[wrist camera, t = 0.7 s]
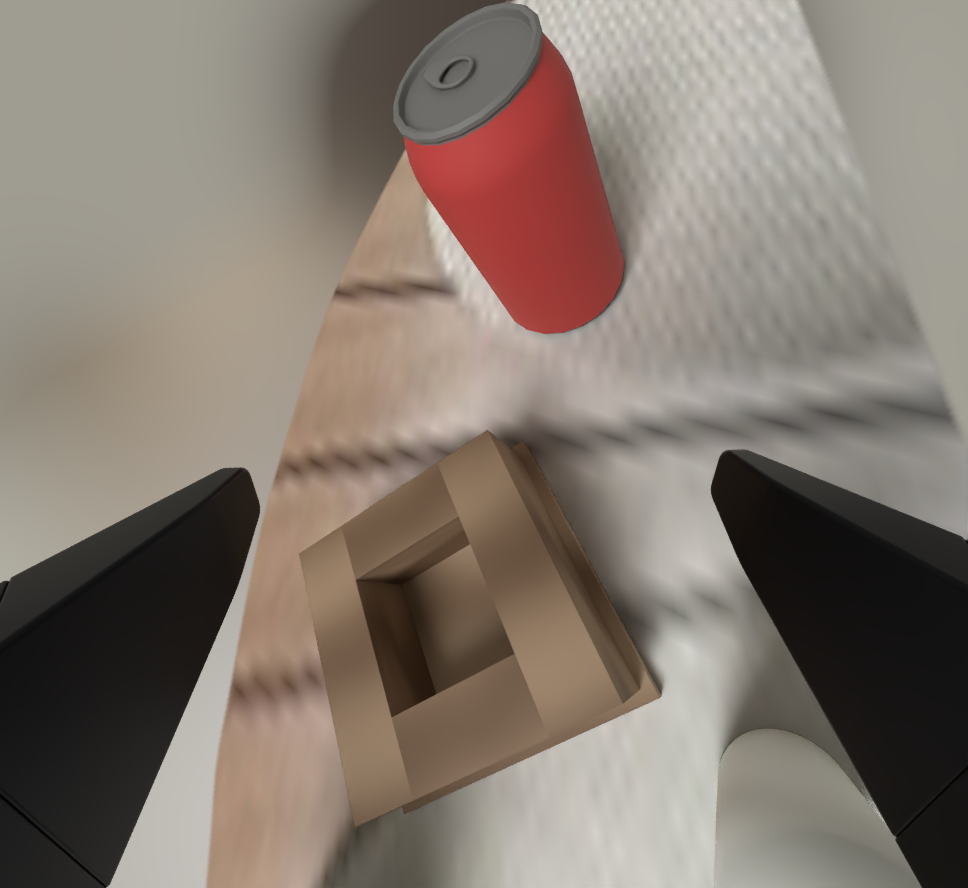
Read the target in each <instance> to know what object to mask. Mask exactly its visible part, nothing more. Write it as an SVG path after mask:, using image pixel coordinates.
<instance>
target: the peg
mask: <svg viewBox="0 0 968 888" xmlns="http://www.w3.org/2000/svg"><path fill="white" fill-rule="evenodd" d="M895 838H896V837H895V836H893V835H892V833H891V831H890V830H889V828H888V827H887V826H886V825H885V823H884V822H883V821H882V819H881V818H880V817H879V816H878V814H877V813H876V812H875V811H874V809H873V808H872V807H871V805H870V804H869V803H868V802H867V800H866V799H865V798H864V797H863V795H862V794H861V793H860V791H859V790H858V789H857V788H856V786H855V785H854V784H853V782H852V781H851V780H850V779H849V777H848V776H847V775H846V774H845V772H844V771H843V770H842V768H841V767H840V766H839V765H838V764H837V763H836V762H835V761H834V759H833V758H831V757H830V756H829V755H828V754H827V753H826V752H825V751H824V750H822V749H821V748H820V747H818V746H817V745H816V744H814V743H812V742H811V741H809V740H807V739H805V738H803V737H801V736H799V735H797V734H794V733H791V732H788V731H784V730H780V729H771V728H769V729H757V730H752V731H749V732H746V733H744V734H742V735H740V736H739V737H738V738H736V739H735V740H734V741H733V742H732V743H731V744H730V745H729V746H728V747H727V749H726V750H725V752H724V754H723V756H722V758H721V761H720V765H719V771H718V786H717V812H716V838H715V865H714V888H922V887H921V886H920V884H919V882H918V880H917V878H916V877H915V875H914V873H913V871H912V870H911V868H910V866H909V864H908V862H907V861H906V859H905V857H904V855H903V854H902V852H901V850H900V848H899V846H898V845H897V843H896V841H895Z"/></svg>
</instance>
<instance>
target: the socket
mask: <svg viewBox="0 0 968 888" xmlns="http://www.w3.org/2000/svg"><path fill="white" fill-rule="evenodd" d="M299 556H300V561H301V566H302V571H303V576H304V581H305V586H306V591H307V596H308V600H309V605H310V610H311V615H312V620H313V625H314V630H315V635H316V640H317V645H318V650H319V654H320V659H321V664H322V669H323V674H324V679H325V684H326V689H327V694H328V699H329V704H330V708H331V713H332V718H333V723H334V728H335V733H336V738H337V743H338V748H339V753H340V758H341V762H342V767H343V772H344V777H345V782H346V787H347V792H348V797H349V802H350V807H351V812H352V816H353V821H354V826H355V827H357V826H359V825H361V824H363V823H365V822H368V821H370V820H372V819H374V818H376V817H379V816H381V815H383V814H385V813H387V812H389V811H392V810H394V809H396V808H398V807H400V806H402V808H403V812H404V814H406V813H408V812H410V811H412V810H414V809H417V808H419V807H421V806H423V805H425V804H428V803H430V802H432V801H434V800H436V799H439V798H441V797H443V796H445V795H447V794H450V793H452V792H454V791H456V790H458V789H461V788H463V787H465V786H467V785H469V784H472V783H474V782H476V781H478V780H480V779H483V778H485V777H487V776H489V775H491V774H494V773H496V772H498V771H500V770H502V769H505V768H507V767H509V766H511V765H513V764H516V763H518V762H520V761H522V760H524V759H527V758H529V757H531V756H533V755H535V754H538V753H540V752H542V751H544V750H546V749H549V748H551V747H553V746H555V745H557V744H560V743H562V742H564V741H566V740H568V739H571V738H573V737H575V736H577V735H579V734H582V733H584V732H586V731H588V730H590V729H593V728H595V727H597V726H599V725H601V724H604V723H606V722H608V721H610V720H612V719H615V718H617V717H619V716H621V715H623V714H626V713H628V712H630V711H632V710H634V709H637V708H639V707H641V706H643V705H645V704H648V703H650V702H652V701H654V700H656V699H659V698H660V697H661V696H662V695H661V694H660V692H659V690H658V688H657V686H656V684H655V682H654V681H653V679H652V677H651V675H650V673H649V671H648V669H647V667H646V666H645V664H644V662H643V660H642V658H641V656H640V654H639V653H638V651H637V649H636V647H635V645H634V643H633V641H632V640H631V638H630V636H629V634H628V632H627V630H626V628H625V627H624V625H623V623H622V621H621V619H620V617H619V615H618V614H617V612H616V610H615V608H614V606H613V604H612V602H611V600H610V599H609V597H608V595H607V593H606V591H605V589H604V587H603V586H602V584H601V582H600V580H599V578H598V576H597V574H596V573H595V571H594V569H593V567H592V565H591V563H590V561H589V560H588V558H587V556H586V554H585V552H584V550H583V548H582V547H581V545H580V543H579V541H578V539H577V537H576V535H575V533H574V532H573V530H572V528H571V526H570V524H569V522H568V520H567V519H566V517H565V515H564V513H563V511H562V509H561V507H560V506H559V504H558V502H557V500H556V498H555V496H554V494H553V493H552V491H551V489H550V487H549V485H548V483H547V481H546V480H545V478H544V476H543V474H542V472H541V470H540V468H539V466H538V465H537V463H536V461H535V459H534V457H533V455H532V453H531V452H530V450H529V448H528V446H527V444H525V443H524V442H523V441H522V442H520V443H518V444H517V445H515V446H514V447H512V448H510V447H508V446H507V445H506V444H505V443H503V442H502V441H501V440H500V439H498V438H497V437H496V436H494V435H493V434H492V433H491V432H489V431H488V430H487V431H485V432H484V433H482V434H481V435H479V436H478V437H476V438H475V439H473V440H472V441H470V442H469V443H467V444H465V445H464V446H462V447H461V448H459V449H458V450H456V451H455V452H453V453H452V454H450V455H449V456H447V457H446V458H444V459H443V460H441V461H440V462H438V463H437V464H435V465H433V466H432V467H430V468H429V469H427V470H426V471H424V472H423V473H421V474H420V475H418V476H417V477H415V478H414V479H412V480H411V481H409V482H408V483H406V484H405V485H403V486H401V487H400V488H398V489H397V490H395V491H394V492H392V493H391V494H389V495H388V496H386V497H385V498H383V499H382V500H380V501H379V502H377V503H376V504H374V505H373V506H371V507H370V508H368V509H366V510H365V511H363V512H362V513H360V514H359V515H357V516H356V517H354V518H353V519H351V520H350V521H348V522H347V523H345V524H344V525H342V526H341V527H339V528H338V529H336V530H334V531H333V532H331V533H330V534H328V535H327V536H325V537H324V538H322V539H321V540H319V541H318V542H316V543H315V544H313V545H312V546H310V547H309V548H307V549H306V550H304V551H302V552H301V553H299Z"/></svg>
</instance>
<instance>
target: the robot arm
mask: <svg viewBox="0 0 968 888" xmlns="http://www.w3.org/2000/svg"><path fill="white" fill-rule="evenodd" d="M711 494H712V498H713V501H714V503H715V505H716V508H717V510H718V512H719V515H720V517H721V520H722V522H723V524H724V527H725V529H726V531H727V534H728V536H729V539H730V541H731V543H732V546H733V548H734V550H735V553H736V555H737V557H738V559H739V561H740V563H741V565H742V567H743V569H744V571H745V573H746V575H747V577H748V578H749V580H750V582H751V584H752V586H753V587H754V589H755V591H756V593H757V594H758V596H759V598H760V600H761V602H762V603H763V605H764V607H765V609H766V610H767V612H768V614H769V616H770V618H771V619H772V621H773V623H774V625H775V626H776V628H777V630H778V632H779V634H780V635H781V637H782V639H783V641H784V643H785V644H786V646H787V648H788V650H789V651H790V653H791V655H792V657H793V659H794V660H795V662H796V664H797V666H798V667H799V669H800V671H801V673H802V675H803V676H804V678H805V680H806V682H807V684H808V685H809V687H810V689H811V691H812V692H813V694H814V696H815V698H816V700H817V701H818V703H819V705H820V707H821V708H822V710H823V712H824V714H825V716H826V717H827V719H828V721H829V723H830V725H831V726H832V728H833V730H834V732H835V733H836V735H837V737H838V739H839V741H840V742H841V744H842V746H843V748H844V749H845V751H846V753H847V755H848V757H849V758H850V760H851V762H852V764H853V765H854V767H855V769H856V771H857V773H858V774H859V776H860V778H861V780H862V782H863V783H864V785H865V787H866V789H867V790H868V792H869V794H870V796H871V798H872V799H873V801H874V803H875V805H876V806H877V808H878V810H879V812H880V814H881V815H882V817H883V819H884V821H885V823H886V824H887V826H888V828H889V830H890V831H891V833H892V835H893V836H895V837H896V838H895V841H896V843H897V845H898V846H899V848H900V850H901V852H902V854H903V855H904V857H905V859H906V861H907V862H908V864H909V866H910V868H911V870H912V871H913V873H914V875H915V877H916V878H917V880H918V882H919V884H920V886H921V887H922V888H968V540H964V538H963V537H961V536H959V535H957V534H954V533H952V532H949V531H947V530H944V529H942V528H939V527H937V526H934V525H932V524H929V523H927V522H924V521H922V520H919V519H917V518H915V517H912V516H910V515H907V514H905V513H902V512H900V511H897V510H895V509H892V508H890V507H887V506H885V505H882V504H880V503H877V502H875V501H872V500H870V499H867V498H865V497H863V496H860V495H858V494H855V493H853V492H850V491H848V490H845V489H843V488H840V487H838V486H835V485H833V484H830V483H828V482H825V481H823V480H820V479H818V478H816V477H813V476H811V475H808V474H806V473H803V472H801V471H798V470H796V469H793V468H791V467H788V466H786V465H783V464H781V463H778V462H776V461H773V460H771V459H768V458H766V457H764V456H761V455H759V454H756V453H754V452H751V451H749V450H743V449H742V450H726V451H724V452H723V453H722V454H721V455H720V457H719V460H718V464H717V467H716V471H715V474H714V478H713V481H712V485H711ZM259 514H260V504H259V500H258V497H257V494H256V491H255V488H254V485H253V482H252V478H251V476H250V473H249V472H248V470H246V469H245V468H223V469H220V470H218V471H216V472H214V473H212V474H210V475H208V476H206V477H204V478H203V479H201V480H199V481H197V482H195V483H193V484H191V485H189V486H187V487H185V488H183V489H181V490H179V491H177V492H175V493H173V494H172V495H170V496H168V497H166V498H164V499H162V500H160V501H158V502H156V503H154V504H152V505H150V506H148V507H146V508H144V509H143V510H141V511H139V512H137V513H135V514H133V515H131V516H129V517H127V518H125V519H123V520H121V521H119V522H117V523H115V524H114V525H112V526H110V527H108V528H106V529H104V530H102V531H100V532H98V533H96V534H94V535H92V536H90V537H88V538H86V539H85V540H83V541H81V542H79V543H77V544H75V545H73V546H71V547H69V548H67V549H65V550H63V551H61V552H60V553H57V554H56V555H54V556H52V557H50V558H48V559H46V560H44V561H42V562H40V563H38V564H36V565H34V566H32V567H31V568H28V569H27V570H25V571H23V572H21V573H19V574H17V575H15V576H13V577H11V579H10V581H3V582H1V583H0V888H106V887H108V886H109V885H110V883H111V880H112V878H113V876H114V874H115V871H116V869H117V867H118V864H119V862H120V860H121V857H122V855H123V853H124V850H125V848H126V846H127V843H128V841H129V839H130V837H131V834H132V832H133V829H134V827H135V825H136V823H137V820H138V818H139V815H140V813H141V811H142V809H143V806H144V804H145V802H146V799H147V797H148V795H149V792H150V790H151V788H152V785H153V783H154V780H155V778H156V776H157V773H158V771H159V769H160V767H161V764H162V762H163V760H164V757H165V755H166V753H167V750H168V748H169V746H170V743H171V741H172V739H173V737H174V734H175V732H176V729H177V727H178V725H179V723H180V720H181V718H182V716H183V713H184V711H185V708H186V706H187V704H188V702H189V699H190V697H191V695H192V692H193V690H194V688H195V685H196V683H197V681H198V678H199V676H200V674H201V671H202V669H203V667H204V664H205V662H206V660H207V657H208V655H209V653H210V650H211V648H212V646H213V643H214V641H215V639H216V636H217V634H218V632H219V629H220V627H221V625H222V623H223V620H224V618H225V615H226V613H227V611H228V609H229V606H230V604H231V602H232V599H233V597H234V594H235V592H236V589H237V587H238V584H239V581H240V578H241V575H242V572H243V569H244V565H245V562H246V558H247V555H248V552H249V549H250V545H251V542H252V538H253V535H254V531H255V528H256V525H257V522H258V518H259Z"/></svg>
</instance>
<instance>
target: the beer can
mask: <svg viewBox="0 0 968 888" xmlns="http://www.w3.org/2000/svg"><path fill="white" fill-rule="evenodd" d="M393 108H394V122H395V124H396V126H397V127H398V129H399V131H400V132H401V134H402V135H403V138H404V142H405V146H406V150H407V154H408V159H409V162H410V165H411V167H412V170H413V172H414V174H415V177H416V179H417V181H418V183H419V184H420V186H421V188H422V189H423V191H424V193H425V194H426V196H427V197H428V198H429V200H430V201H431V203H432V204H433V206H434V207H435V208H436V210H437V211H438V213H439V214H440V216H441V217H442V218H443V220H444V221H445V223H446V224H447V225H448V227H449V228H450V230H451V231H452V233H453V234H454V235H455V237H456V238H457V240H458V241H459V243H460V244H461V245H462V247H463V248H464V250H465V251H466V253H467V254H468V255H469V257H470V258H471V260H472V261H473V262H474V264H475V265H476V267H477V268H478V270H479V271H480V272H481V274H482V275H483V277H484V278H485V280H486V281H487V282H488V284H489V285H490V287H491V288H492V290H493V291H494V292H495V294H496V295H497V297H498V298H499V300H500V301H501V302H502V304H503V305H504V307H505V308H506V309H507V311H508V312H509V314H510V315H511V317H512V318H513V319H514V321H515V322H517V323H518V324H520V325H521V326H523V327H524V328H525V329H527V330H531V331H535V332H539V333H543V334H551V333H564V332H566V331H569V330H572V329H575V328H577V327H580V326H583V325H584V324H586V323H587V322H589V321H590V320H592V319H593V318H595V317H596V316H598V315H599V314H600V313H601V312H602V311H603V310H604V309H605V307H606V306H607V305H608V304H609V303H610V302H611V301H612V300H613V298H614V296H615V294H616V292H617V290H618V288H619V286H620V284H621V281H622V278H623V269H624V259H623V255H622V252H621V248H620V244H619V241H618V237H617V234H616V230H615V226H614V223H613V219H612V216H611V212H610V208H609V205H608V201H607V198H606V194H605V190H604V187H603V183H602V180H601V176H600V172H599V169H598V165H597V162H596V158H595V154H594V151H593V147H592V144H591V140H590V136H589V133H588V129H587V126H586V122H585V118H584V115H583V111H582V108H581V104H580V100H579V97H578V93H577V90H576V86H575V83H574V80H573V76H572V73H571V71H570V69H569V67H568V65H567V64H566V62H565V60H564V58H563V56H562V55H561V54H560V52H559V51H558V50H557V49H556V47H555V46H554V45H553V44H552V43H551V41H550V40H549V39H548V38H547V37H546V36H545V34H544V33H543V32H542V29H541V25H540V21H539V18H538V15H537V14H536V13H535V12H533V11H532V10H531V9H530V8H528V7H527V6H525V5H521V4H513V3H501V4H496V5H491V6H487V7H484V8H482V9H480V10H477V11H475V12H473V13H471V14H469V15H467V16H464V17H463V18H462V19H460V20H458V21H457V22H455V23H454V24H453V25H451V26H450V27H448V28H446V29H445V30H444V31H443V32H442V33H440V34H439V35H438V36H437V37H436V38H435V39H434V40H433V41H432V42H430V43H429V44H428V45H427V46H426V47H425V48H424V49H423V51H422V52H421V53H420V54H419V55H418V57H417V58H416V59H415V61H414V62H413V63H412V64H411V65H410V67H409V69H408V70H407V72H406V74H405V76H404V77H403V79H402V81H401V83H400V84H399V88H398V91H397V94H396V98H395V101H394V107H393Z"/></svg>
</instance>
